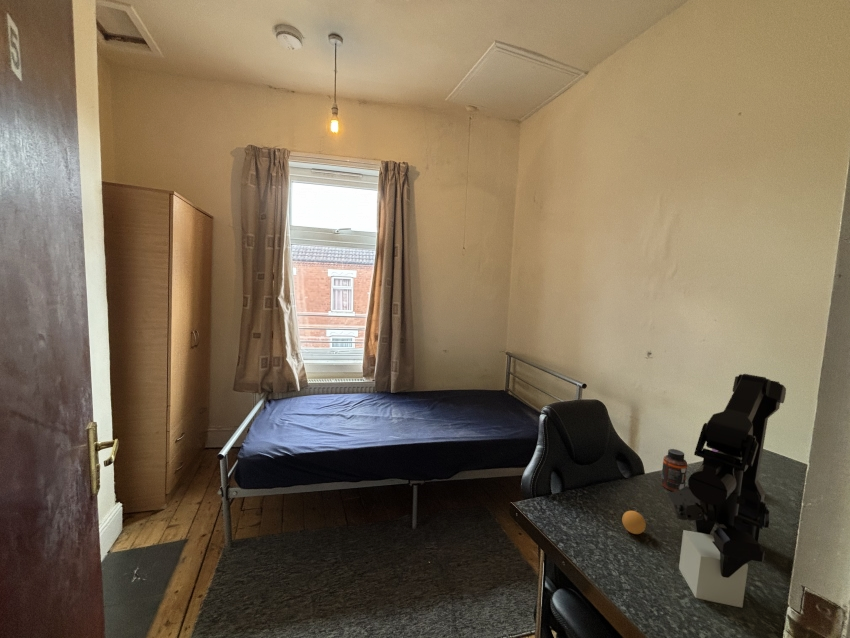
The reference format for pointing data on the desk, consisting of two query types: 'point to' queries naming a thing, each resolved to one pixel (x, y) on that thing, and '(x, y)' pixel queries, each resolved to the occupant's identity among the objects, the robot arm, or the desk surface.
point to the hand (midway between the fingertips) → (712, 559)
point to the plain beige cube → (709, 571)
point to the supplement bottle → (674, 470)
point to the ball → (633, 522)
